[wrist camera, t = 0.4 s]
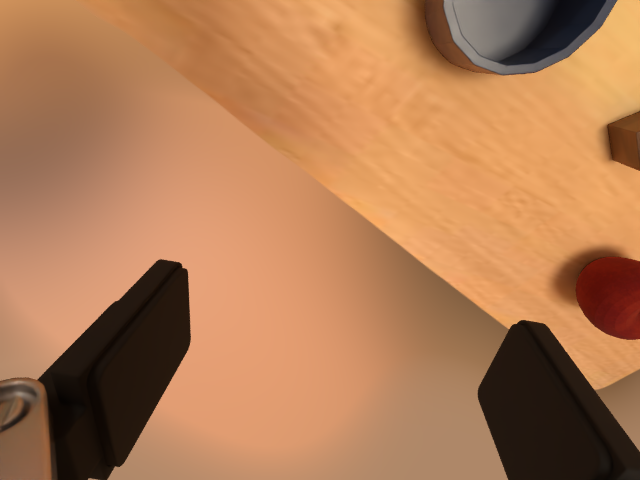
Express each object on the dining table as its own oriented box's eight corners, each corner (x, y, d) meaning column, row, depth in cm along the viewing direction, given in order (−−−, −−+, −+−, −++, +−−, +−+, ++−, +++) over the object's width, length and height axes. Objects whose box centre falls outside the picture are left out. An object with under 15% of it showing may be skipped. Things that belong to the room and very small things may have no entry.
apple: (634, 293, 49) (696, 345, 40) (560, 307, 51) (603, 359, 42) (639, 235, 45) (709, 280, 36) (558, 253, 47) (606, 299, 38)
